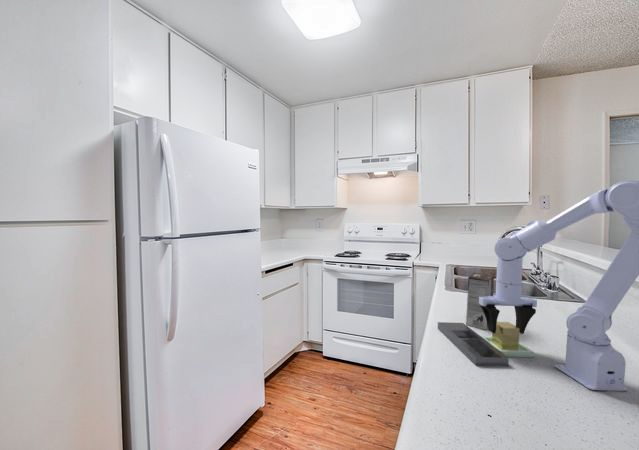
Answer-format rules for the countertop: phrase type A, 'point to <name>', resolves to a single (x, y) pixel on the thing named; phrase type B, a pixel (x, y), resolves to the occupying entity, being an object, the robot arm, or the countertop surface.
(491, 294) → the coffee box
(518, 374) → the countertop surface
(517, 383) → the countertop surface
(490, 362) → the grey flat long piece
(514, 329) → the brass cube
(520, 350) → the tray
